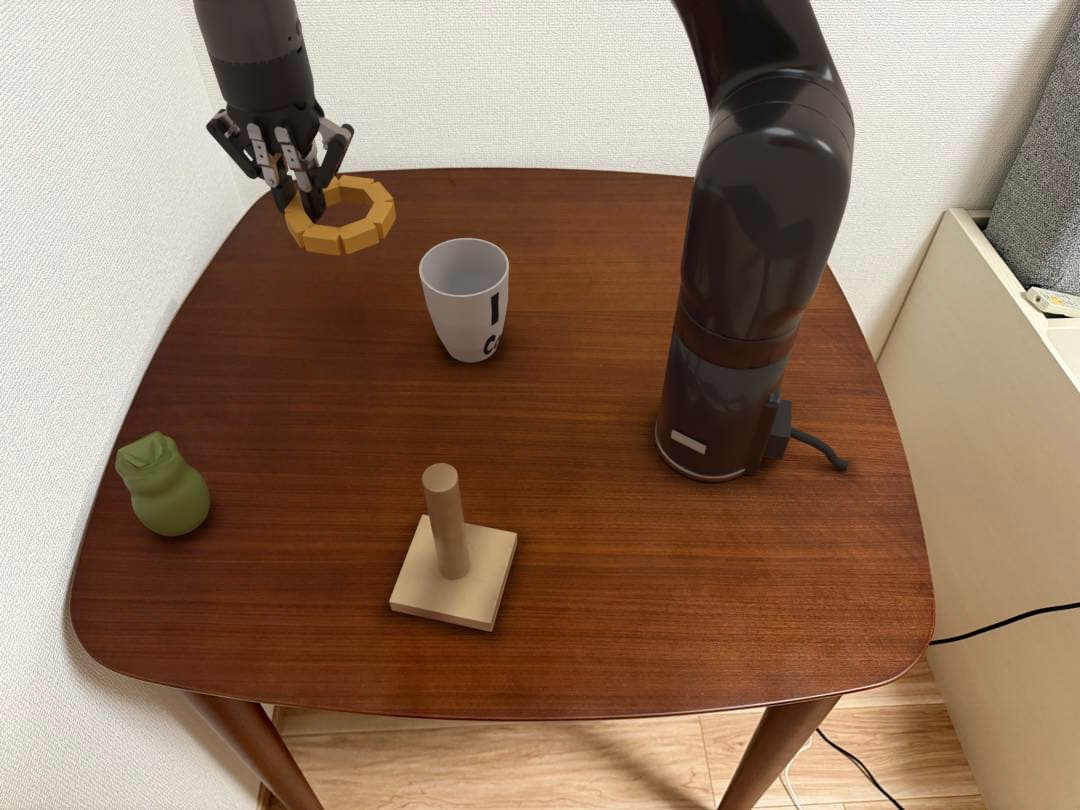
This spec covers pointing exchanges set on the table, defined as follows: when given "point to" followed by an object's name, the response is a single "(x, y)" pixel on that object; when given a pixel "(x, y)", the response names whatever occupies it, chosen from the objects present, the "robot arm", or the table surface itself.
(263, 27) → the robot arm
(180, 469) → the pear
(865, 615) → the table surface
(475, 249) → the cup
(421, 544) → the stand
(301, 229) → the ring
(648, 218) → the table surface
